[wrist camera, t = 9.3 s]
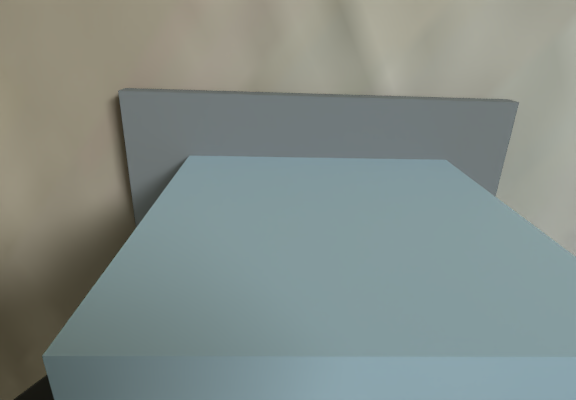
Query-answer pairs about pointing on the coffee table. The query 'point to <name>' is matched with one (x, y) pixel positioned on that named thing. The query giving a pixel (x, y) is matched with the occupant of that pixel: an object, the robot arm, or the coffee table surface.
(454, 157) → the gray square plate
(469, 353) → the pale blue cube
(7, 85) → the coffee table surface
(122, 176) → the coffee table surface
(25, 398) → the robot arm
